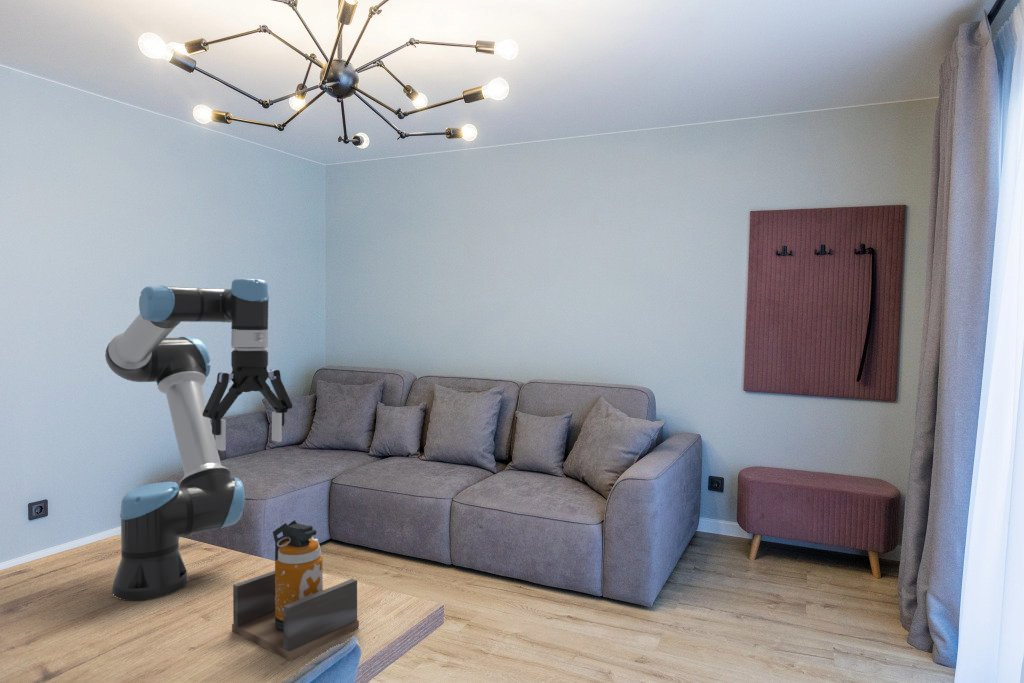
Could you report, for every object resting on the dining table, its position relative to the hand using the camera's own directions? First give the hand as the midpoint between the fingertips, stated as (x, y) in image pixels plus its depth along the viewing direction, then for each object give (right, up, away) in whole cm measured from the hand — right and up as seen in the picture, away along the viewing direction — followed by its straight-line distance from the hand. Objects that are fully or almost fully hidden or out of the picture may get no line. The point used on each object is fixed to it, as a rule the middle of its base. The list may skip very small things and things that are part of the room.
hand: (249, 445), depth 143 cm
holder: (+15, -35, -14) cm, 40 cm away
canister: (+15, -33, -14) cm, 39 cm away
